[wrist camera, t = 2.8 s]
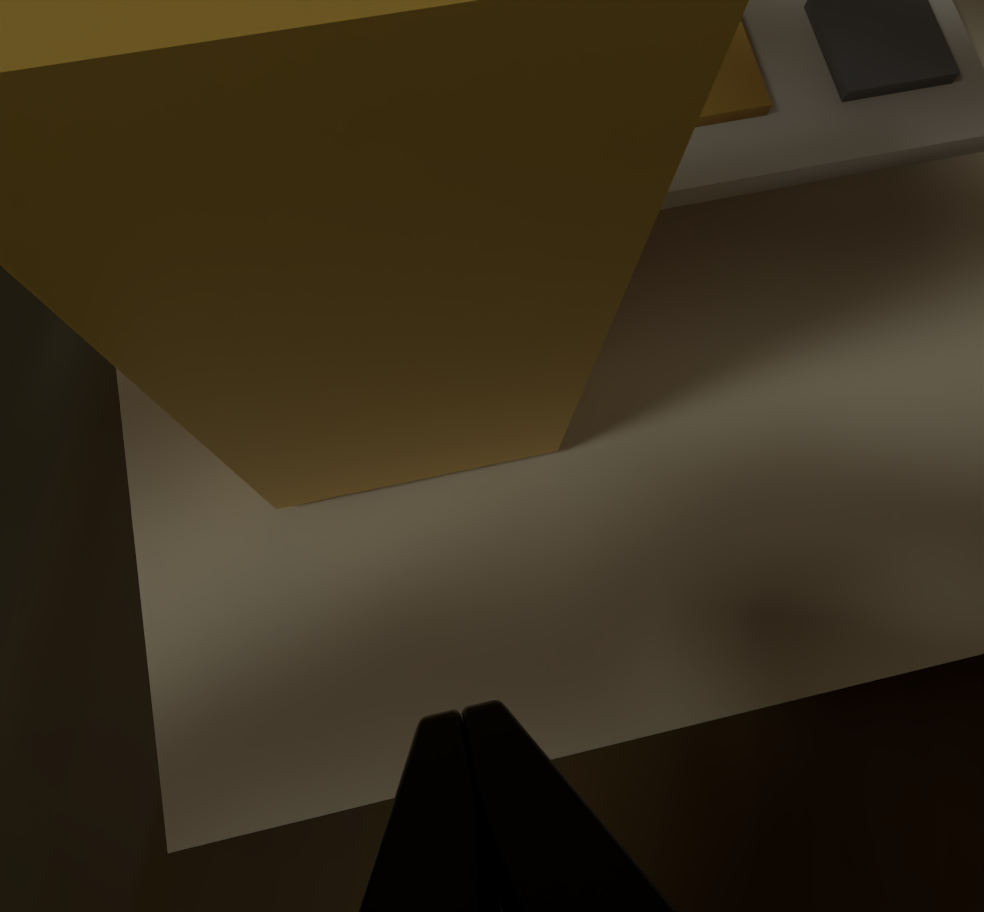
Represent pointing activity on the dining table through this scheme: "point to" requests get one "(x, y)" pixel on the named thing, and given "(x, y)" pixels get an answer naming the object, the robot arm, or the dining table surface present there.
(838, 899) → the dining table surface
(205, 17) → the large amber box
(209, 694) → the key board
